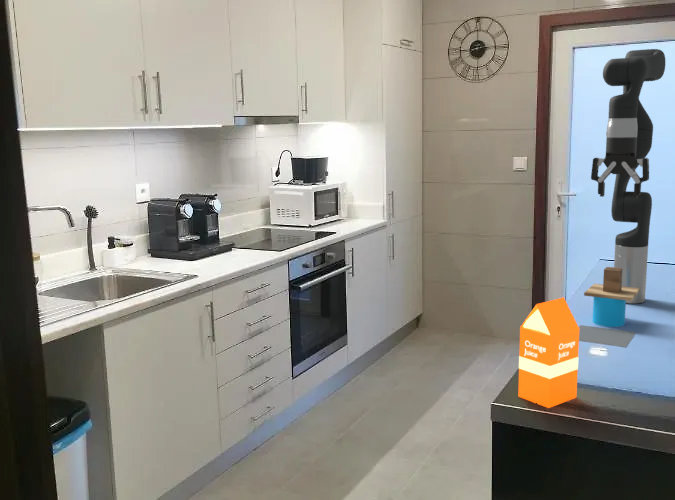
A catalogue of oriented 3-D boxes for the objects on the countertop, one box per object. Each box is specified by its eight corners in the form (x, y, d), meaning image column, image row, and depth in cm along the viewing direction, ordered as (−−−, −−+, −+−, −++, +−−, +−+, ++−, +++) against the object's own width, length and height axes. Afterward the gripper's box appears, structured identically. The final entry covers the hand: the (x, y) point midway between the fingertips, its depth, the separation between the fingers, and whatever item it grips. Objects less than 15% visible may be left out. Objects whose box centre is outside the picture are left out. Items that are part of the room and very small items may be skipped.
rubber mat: (580, 326, 188) (580, 325, 188) (636, 333, 181) (636, 332, 181) (566, 340, 177) (567, 338, 176) (625, 348, 169) (626, 347, 169)
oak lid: (594, 286, 198) (595, 262, 197) (639, 291, 192) (640, 266, 191) (584, 295, 188) (585, 270, 187) (631, 300, 182) (633, 275, 181)
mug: (620, 330, 184) (622, 300, 183) (588, 325, 189) (590, 296, 188) (630, 319, 194) (632, 290, 193) (600, 315, 199) (601, 287, 197)
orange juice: (577, 397, 140) (581, 300, 137) (548, 408, 135) (552, 308, 132) (545, 386, 147) (548, 293, 143) (517, 396, 142) (519, 300, 138)
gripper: (653, 135, 185) (649, 196, 187) (596, 135, 192) (594, 194, 195) (648, 135, 178) (644, 199, 181) (590, 136, 186) (587, 197, 189)
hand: (618, 196), depth 188 cm, fingers open, 8 cm apart
